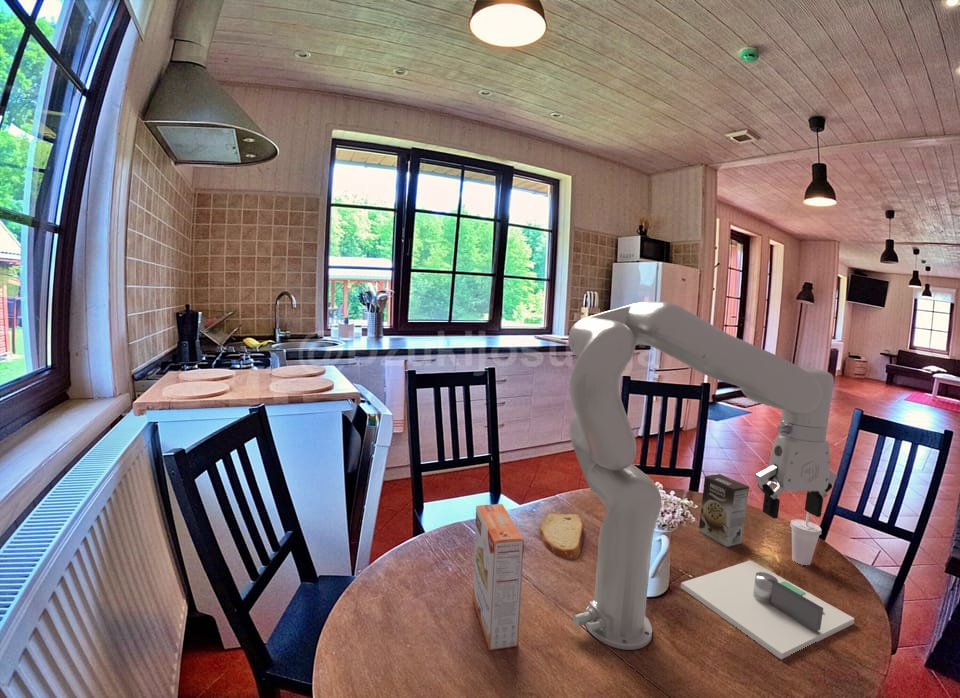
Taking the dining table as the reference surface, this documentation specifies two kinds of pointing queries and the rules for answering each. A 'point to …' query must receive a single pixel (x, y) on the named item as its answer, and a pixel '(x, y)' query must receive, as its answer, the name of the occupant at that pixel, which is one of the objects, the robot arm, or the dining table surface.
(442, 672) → the dining table surface
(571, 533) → the slice of bread
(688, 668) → the dining table surface
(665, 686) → the dining table surface
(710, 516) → the cookie box
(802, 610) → the tuning lever
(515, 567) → the cracker box
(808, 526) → the smoothie
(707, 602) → the white flat board
